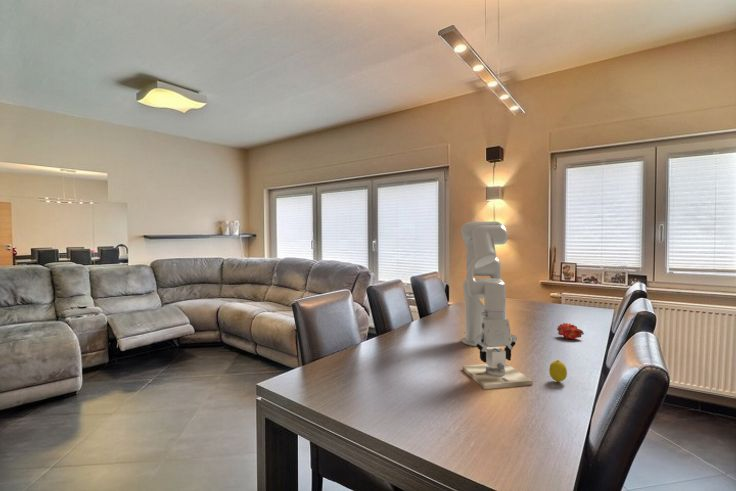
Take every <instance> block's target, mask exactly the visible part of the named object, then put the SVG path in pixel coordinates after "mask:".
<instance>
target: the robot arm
mask: <svg viewBox="0 0 736 491" xmlns="http://www.w3.org/2000/svg"><path fill="white" fill-rule="evenodd" d="M461 236H462V240H463V242H464V244H465V250H466V252H465V254H466V255H465V258H466V260H465V262H466V263H465V268H466V274H465V275H466V279H465V280H464V282H463V284H462V289H463V296H464V319H465V321H464V322H465V323H464V324H465V327H464V328H465V329H464V330H465V331H464V334H465V336H464V338H462V339H461V342H462V344H464V345H466V346H467V345H468V346H469V347H470V346H473V347H476V348H477V349H478V350H479V360H480V361H482V362H483V364H486V363H485V362H486V352H485V350H486V348H489V347H499V348H500V347H504V348H503V350H504V351H506V361H512V360H511V358H512V351H513V349H514V347H515V345H516V343H517V341H518V338H519V337H518V336H516V335H514V334H512V331H511V325H510V320H509V318H508V317H507V286H506V283H505V282H504V280H502V266H501V260H500V259H499V257H497V251H496V245H505V244H506V243H507V241H508V229H507V228H506V227H505V225H504V224H502V223H501V222H499V221H470V222H469V221H468V222H465V223H464V224H462V225H461ZM475 277H478V278H475ZM479 277H482V278H479ZM483 277H484V278H483ZM485 277H488V278H485ZM481 299H483V300H484V303H483V302H482V301H481Z"/></svg>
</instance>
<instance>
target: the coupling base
mask: <svg viewBox="0 0 736 491" xmlns="http://www.w3.org/2000/svg"><path fill="white" fill-rule="evenodd" d="M461 368H462V369H461V370H462V371H463V372H465V374H467V375H468V377H470V378H471V379H472V380H474V381H475V382H476V383H477V384H478V385H479V386H481V387H482V389H484V390H492V389H502V388H513V387H522V386H523V387H524V386H533V382H534V381H533V380H532V379H531V378H529V377H528V376H526V375H525V374H523V373H522V372H520V371H518V370H517V369H516V368H514V367H513V366H510V365H509V364H508V363H506V367H505V368H504V369H502V370H500V369H499V368H491V367H490V366H488V365H487V364H486V363H482V364H472V365H471V364H470V365H469V364H468V365H462V366H461Z"/></svg>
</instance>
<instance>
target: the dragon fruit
mask: <svg viewBox="0 0 736 491" xmlns="http://www.w3.org/2000/svg"><path fill="white" fill-rule="evenodd" d="M556 330H557V332H558V333H557V335H559V336H562V337H563V339H565V340H567V339H569V340H573V341H579V339H578V338H582V336H583V335H585V332H584V331H583V330H582V329H580V328H578V327H577V326H576V325H575V324H574V323H573V324H571V323H568V322H562V323H560V325H558V326H557V328H556Z"/></svg>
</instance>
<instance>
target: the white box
mask: <svg viewBox="0 0 736 491" xmlns="http://www.w3.org/2000/svg"><path fill="white" fill-rule="evenodd" d="M485 352H486V362H485V363H484V364H487V365H488V366H490V367H491V368H499V369H500V370H502V369H504V368H505V367H506V364H507V359H506V351H504V348H501V347H500V346H499V347H487V348H486V350H485Z"/></svg>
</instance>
